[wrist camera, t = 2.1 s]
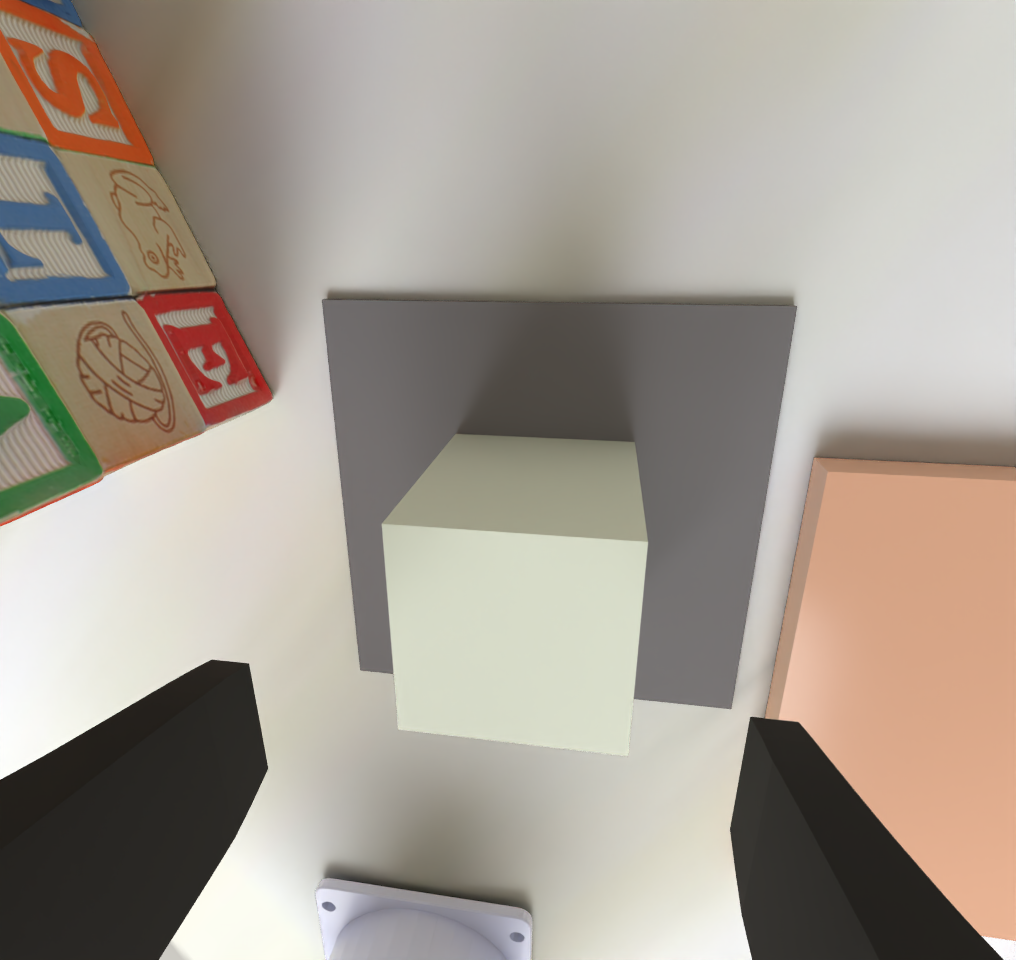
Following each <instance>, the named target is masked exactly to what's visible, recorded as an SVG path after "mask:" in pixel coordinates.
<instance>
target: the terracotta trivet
mask: <svg viewBox="0 0 1016 960" xmlns="http://www.w3.org/2000/svg"><path fill="white" fill-rule="evenodd" d="M765 718H767V719H776V720H786V721H795V722H799V723H800V724H801V725H802V726H803V727H804V729H805V730H806V731H807V732H808V733H809V734H810V736H811V737H812V738H813V739H814V741H815V742H816V743H817V744H818V745H819V747H820V748H821V749H822V750H823V752H824V753H825V754H826V755H827V757H828V758H829V759H830V760H831V762H832V763H833V764H834V765H835V767H836V768H837V769H838V770H839V771H840V773H841V774H842V775H843V776H844V778H845V779H846V780H847V781H848V783H849V784H850V785H851V786H852V787H853V789H854V790H855V791H856V792H857V794H858V795H859V796H860V797H861V798H862V800H863V801H864V802H865V803H866V804H867V806H868V807H869V808H870V809H871V811H872V812H873V813H874V814H875V815H876V817H877V818H878V819H879V820H880V821H881V823H882V824H883V825H884V826H885V827H886V828H887V830H888V831H889V832H890V833H891V834H892V836H893V837H894V838H895V839H896V840H897V842H898V843H899V844H900V845H901V846H902V847H903V848H904V850H905V851H906V852H907V853H908V854H909V855H910V856H911V858H912V859H913V860H914V861H915V862H916V863H917V864H918V866H919V867H920V868H921V869H922V870H923V871H924V873H925V874H926V875H927V876H928V877H929V878H930V879H931V881H932V882H933V883H934V884H935V885H936V886H937V887H938V889H939V890H940V891H941V892H942V893H943V894H944V895H945V897H946V898H947V899H948V900H949V901H950V902H951V903H952V904H953V906H954V907H955V908H956V909H957V910H958V911H959V912H960V913H961V914H962V915H963V917H964V918H965V919H966V920H967V921H968V922H969V923H970V924H971V925H972V927H973V928H974V929H975V930H976V931H977V932H978V933H979V934H980V935H981V936H986V937H993V938H1000V939H1006V940H1013V941H1016V467H1006V466H985V465H964V464H943V463H922V462H900V461H879V460H858V459H837V458H815V457H814V460H813V466H812V471H811V476H810V481H809V487H808V492H807V497H806V503H805V508H804V513H803V518H802V524H801V529H800V534H799V540H798V545H797V550H796V555H795V561H794V566H793V571H792V577H791V582H790V587H789V592H788V598H787V603H786V608H785V614H784V619H783V624H782V629H781V635H780V640H779V645H778V651H777V656H776V661H775V666H774V672H773V677H772V682H771V688H770V693H769V698H768V703H767V709H766V714H765Z"/></svg>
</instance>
